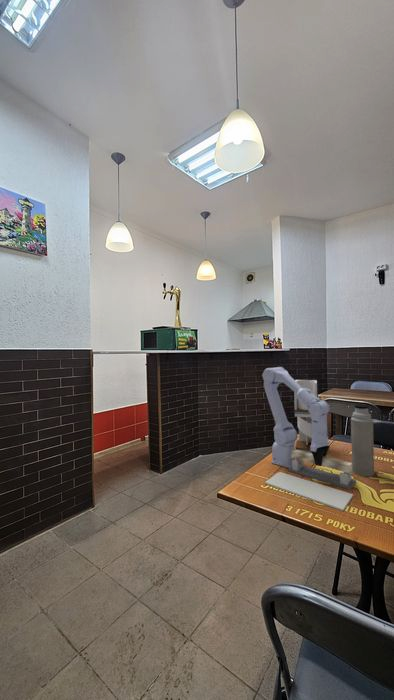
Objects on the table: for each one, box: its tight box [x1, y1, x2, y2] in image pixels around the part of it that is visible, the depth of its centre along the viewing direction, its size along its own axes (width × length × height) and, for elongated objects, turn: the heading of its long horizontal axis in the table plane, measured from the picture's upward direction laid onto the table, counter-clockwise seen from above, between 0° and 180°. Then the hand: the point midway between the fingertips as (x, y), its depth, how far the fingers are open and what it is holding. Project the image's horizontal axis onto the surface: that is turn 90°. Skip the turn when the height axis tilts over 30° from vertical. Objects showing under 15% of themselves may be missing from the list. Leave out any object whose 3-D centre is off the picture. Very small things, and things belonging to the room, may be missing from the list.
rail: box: [291, 448, 353, 474], centre depth 113 cm, size 23×3×3 cm, turn 47°
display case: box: [293, 379, 318, 453], centre depth 144 cm, size 11×11×35 cm
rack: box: [287, 459, 357, 490], centre depth 113 cm, size 24×8×4 cm, turn 47°
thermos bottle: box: [350, 404, 375, 477], centre depth 116 cm, size 8×8×28 cm
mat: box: [264, 471, 354, 512], centre depth 103 cm, size 28×12×1 cm, turn 47°
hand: (320, 463), depth 113 cm, fingers closed on rail, 3 cm apart
